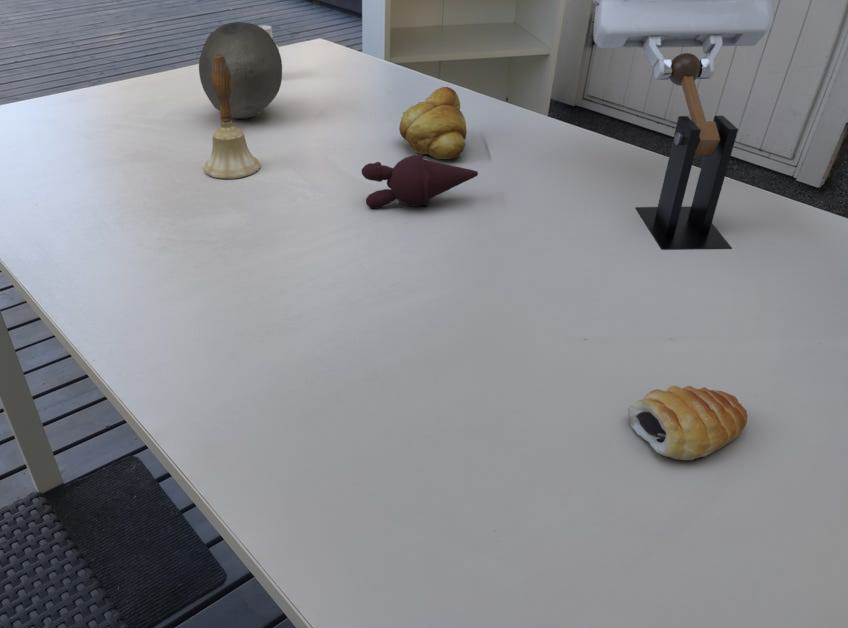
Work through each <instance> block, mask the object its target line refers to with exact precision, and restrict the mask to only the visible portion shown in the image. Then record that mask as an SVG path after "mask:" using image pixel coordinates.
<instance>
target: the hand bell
mask: <svg viewBox="0 0 848 628" xmlns="http://www.w3.org/2000/svg"><path fill="white" fill-rule="evenodd" d="M212 81H213V86H214V90H215V93H216V95H217V98H218V101H219V106H220V111H219V116H220V118H219V119H220V127H219V128H217V129H215V130H214V131H213V132H212V148H211V155H210V157H209V159H208V160H207V161H206V162H205V164H204V167H203V171H204V173H205V174H206V175H207V176H210V177H212V178H216V179H223V180H224V179H225V180H228V179H230V180H232V179H241V178H245V177H248V176H251V175H254V174H256V173H257V172H258V171H259V170H260V169H261V166H262V165H261V162H260V161H259V159H258V158H257V157H255V156H254V155H253V154H252V153H251V151H250V149H249V146H248V144H247V141H246V137H245V133H244V131H243V130H242V129H241V128H239V127H236V126H234V121H233V120H234V118H233V117H232V112H231V106H230V97H231V90H232V82H231V74H230V70H229V68H228V65H227V63H226V61H225V58H224V55H223V54H216V55H215V56H214V63H213V69H212ZM259 168H260V169H259ZM256 171H257V172H256Z"/></svg>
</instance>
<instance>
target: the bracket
mask: <svg viewBox="0 0 848 628" xmlns="http://www.w3.org/2000/svg"><path fill="white" fill-rule="evenodd" d="M712 121H715V123H716V126H717V130H718V133H719V137H720V142H719V143H718V145H717V147H716V149H715V151H714V153H713V155H703V160H702V163H701V167H700V171H699V175H698V179H697V182H696V186H695V190H694V194H693V197H692V201H691V206H683V203H684V199H685V195H686V191H687V186H688V183H689V178H690V174H691V170H692V166H693V163H694V158H695V156H696V155H695V151H696V147H697V143H698V139H699V135H700V131H701V130H700V128H699V127H698V126H697V125H696V124H695V123H694V122H693V121H692V120H691V117H689V116H688V115H678V118H677V120H676V125H675V130H674V135H673V138H672V143H671V147H670V152H669V155H668V156H669V157H668V160H667V165H666V170H665V174H664V178H663V183H662V186H661V190H660V194H659V200H658V203H657V206H636V207H635V208H634V209H635V210H636V212H637V214H638V216H639V217H640V218H641V220H642V221H643V223H644V225H645V226H646V228H647V230H648V232H650V234H651V236H652V237H653V239H654V241H655V242H656V244H657V245H658V247H659V249H660V250H661V251H674V250H675V251H681V250H682V251H684V250H685V251H687V250H732V246H731V245H730V243H729V242H728V241H727V239H726V238H725V237H724V236H723V235H722V233H721V232H720V231H719V230H718V228H717V227H716V226H715V224H714V223H713V220H714V216H715V213H716V211H717V210H716V209H717V206H718V202H719V200H720V195H721V191H722V188H723V186H724V185H723V184H724V182H725V179H726V174H727V170H728V167H729V164H730V159H731V157H732V152H733V149H734V145H735V142H736V138H737V134H738V131H739V128H737V126H735V125H734V124H733V123H732V122H731V121H730V120H729V119H728V118H726V116H724V115H714V118H713V120H712Z"/></svg>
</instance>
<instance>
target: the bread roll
mask: <svg viewBox="0 0 848 628" xmlns="http://www.w3.org/2000/svg"><path fill="white" fill-rule="evenodd" d="M398 131H399V134H400V136H401V137H402V139H403V140H405V142H406V143H407V144H408V146H409V147H410V148H411V149H412V150H413V151H414V152H415V153H418V154H420V152H421V153H422V154H423V155H428V156H430V157H432V158H434V159H437V160H439V159H440V160H453V159H455V158H458V157H459V156H460V155H461V154H462V153H463V151H464V150H465V146H466V141H465V140H466V138H467V131H468V130H467V122H466V118H465V116H464V114H463V112H462V111H461V102H460V98H459V95H458V93H457V92H456V91H455V90H454V89H453V88H452V87H449V86H441V87H440V88H436V89H435V90H433V92H432V93H431V94H430V95H429V96H428V97H426V99H424V101H419V102H418V103H416V104H414V105H412V106H410V107H409V108H407V109H406V110H405V111H404V112H402V116H401V118H400V122H399V128H398Z"/></svg>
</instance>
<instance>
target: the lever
mask: <svg viewBox="0 0 848 628" xmlns="http://www.w3.org/2000/svg"><path fill="white" fill-rule="evenodd" d="M671 67H672V74H671V76H670V77H669V79H668V80H670V82H671V83H673V84H674V85H676V86H681V87H682V91H683V95H684V99H685V102H686V106H687V109H688V110H687V111H688V113H689V116H690V117H689V118H690V119H691V120H692V121H693V122H694V123H695V124H696V125H697V126H698V127H699V128H700V130H701V131H700V135H699V139H698V143H697V147H696V151H695V155H694V156H704V155H713V153H714V151H715V149H716V147H717V145H718V143H719V142H720V137H719V133H718V130H717V126H716V123H715V121H713V120H711V121H709V120H708V121H707V119H706V116H705V112H704V109H703V106H702V102H701V99H700V95H699V92H698V88H697V85H696V82H695V81H696V80H698V79H697V77H698V76H699V74H700V70H701V64H700V58H698V56H696V55H695V54H693V53H691V52H690V53H689V52H684V53H679V54H678V55H676V56H675V57H674V58H672V65H671Z"/></svg>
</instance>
